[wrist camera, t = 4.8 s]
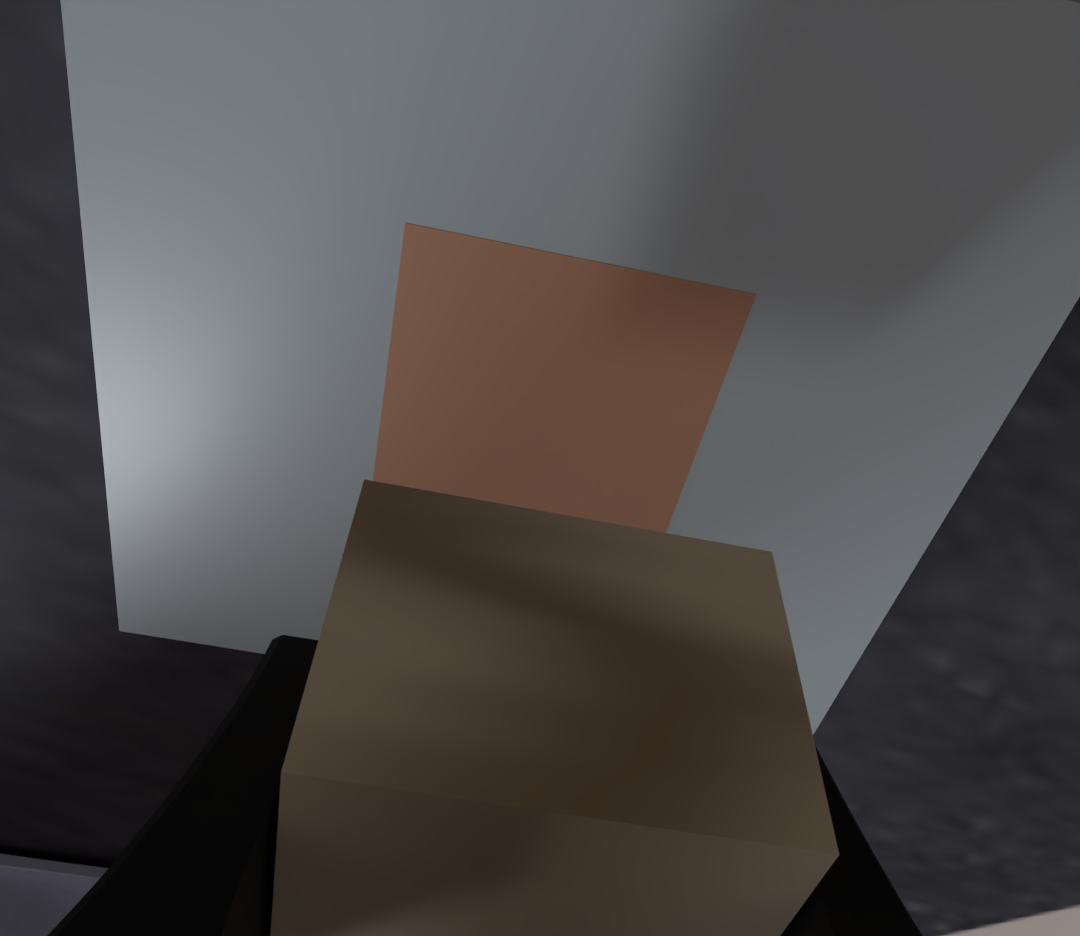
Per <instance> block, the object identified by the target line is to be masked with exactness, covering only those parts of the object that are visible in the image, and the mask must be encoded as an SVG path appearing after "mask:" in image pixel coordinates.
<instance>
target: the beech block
mask: <svg viewBox="0 0 1080 936" xmlns="http://www.w3.org/2000/svg"><path fill="white" fill-rule="evenodd" d="M838 856H839V851H838V847H837V842H836V838H835V833H834V829H833V824H832V820H831V815H830V811H829V806H828V802H827V797H826V793H825V788H824V784H823V779H822V775H821V770H820V766H819V761H818V756H817V752H816V747H815V743H814V738H813V734H812V729H811V725H810V720H809V716H808V711H807V707H806V702H805V698H804V693H803V689H802V684H801V680H800V675H799V671H798V666H797V662H796V657H795V653H794V648H793V644H792V639H791V635H790V630H789V626H788V621H787V617H786V612H785V608H784V603H783V599H782V594H781V590H780V585H779V581H778V576H777V572H776V567H775V563H774V558H773V554H772V552H771V551H765V550H759V549H754V548H748V547H742V546H737V545H731V544H726V543H720V542H714V541H709V540H703V539H697V538H692V537H686V536H680V535H675V534H669V533H664V532H658V531H652V530H647V529H641V528H635V527H630V526H624V525H619V524H613V523H607V522H602V521H596V520H590V519H585V518H579V517H573V516H568V515H562V514H557V513H551V512H545V511H540V510H534V509H528V508H523V507H517V506H512V505H506V504H500V503H495V502H489V501H483V500H478V499H472V498H466V497H461V496H455V495H450V494H444V493H438V492H433V491H427V490H421V489H416V488H410V487H405V486H399V485H393V484H388V483H382V482H376V481H371V480H365V479H364V482H363V485H362V489H361V492H360V496H359V499H358V503H357V507H356V510H355V514H354V517H353V521H352V524H351V528H350V531H349V535H348V538H347V542H346V545H345V549H344V552H343V556H342V559H341V563H340V566H339V570H338V573H337V577H336V580H335V584H334V588H333V591H332V595H331V598H330V602H329V605H328V609H327V612H326V616H325V619H324V623H323V626H322V630H321V633H320V637H319V640H318V644H317V647H316V651H315V654H314V658H313V661H312V665H311V668H310V672H309V676H308V679H307V683H306V686H305V690H304V693H303V697H302V700H301V704H300V707H299V711H298V714H297V718H296V721H295V725H294V728H293V732H292V735H291V739H290V742H289V746H288V749H287V753H286V757H285V760H284V764H283V767H282V771H281V781H280V796H279V812H278V827H277V842H276V858H275V873H274V888H273V904H272V919H271V934H270V936H781V934H782V933H783V932H784V930H785V929H786V927H787V926H788V925H789V923H790V922H791V921H792V919H793V918H794V916H795V915H796V914H797V912H798V911H799V910H800V908H801V907H802V905H803V904H804V903H805V901H806V900H807V899H808V897H809V896H810V894H811V893H812V892H813V890H814V889H815V887H816V886H817V885H818V883H819V882H820V881H821V879H822V878H823V876H824V875H825V874H826V872H827V871H828V870H829V868H830V867H831V865H832V864H833V863H834V861H835V860H836V859H837V857H838Z"/></svg>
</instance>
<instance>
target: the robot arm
mask: <svg viewBox="0 0 1080 936" xmlns="http://www.w3.org/2000/svg"><path fill="white" fill-rule="evenodd" d="M317 644H318V640H313V639H306V638H300V637H294V636H288V635H281V636H279V637H276V638H274V639H272V641H271V643H270V645H269V647H268V649H267V651H266V653H265V654H264V656H263V658H262V660H261V662H260V664H259V665H258V667H257V669H256V670H255V672H254V674H253V676H252V677H251V679H250V681H249V682H248V684H247V685H246V687H245V689H244V690H243V692H242V693H241V695H240V697H239V698H238V700H237V701H236V703H235V704H234V706H233V707H232V709H231V710H230V712H229V713H228V715H227V716H226V718H225V719H224V721H223V722H222V724H221V725H220V726H219V728H218V729H217V731H216V732H215V734H214V735H213V737H212V738H211V739H210V741H209V742H208V743H207V745H206V746H205V748H204V749H203V750H202V752H201V753H200V754H199V756H198V757H197V758H196V760H195V761H194V762H193V764H192V765H191V766H190V768H189V769H188V771H187V772H186V773H185V775H184V776H183V777H182V779H181V780H180V781H179V783H178V784H177V785H176V787H175V788H174V789H173V791H172V792H171V793H170V795H169V796H168V797H167V798H166V800H165V801H164V802H163V803H162V805H161V806H160V807H159V808H158V809H157V811H156V812H155V813H154V814H153V816H152V817H151V818H150V819H149V820H148V822H147V823H146V824H145V825H144V826H143V828H142V829H141V830H140V831H139V832H138V834H137V835H136V836H135V837H134V839H133V840H132V841H131V842H130V843H129V845H128V846H127V847H126V848H125V849H124V851H123V852H122V853H121V854H120V855H119V857H118V858H117V859H116V860H115V861H114V863H113V864H112V865H111V866H110V867H109V868H105V867H97V866H90V865H83V864H75V863H68V862H61V861H53V860H46V859H39V858H31V857H24V856H16V855H9V854H2V853H0V936H270V934H271V919H272V904H273V888H274V873H275V858H276V842H277V827H278V812H279V796H280V781H281V771H282V767H283V764H284V760H285V757H286V753H287V749H288V746H289V742H290V739H291V735H292V732H293V728H294V725H295V721H296V718H297V714H298V711H299V707H300V704H301V700H302V697H303V693H304V690H305V686H306V683H307V679H308V676H309V672H310V668H311V665H312V661H313V658H314V654H315V651H316V647H317ZM815 747H816V746H815ZM816 752H817V756H818V761H819V766H820V770H821V775H822V779H823V784H824V788H825V793H826V797H827V802H828V806H829V811H830V815H831V820H832V824H833V829H834V833H835V838H836V842H837V847H838V851H839V856H838V857H837V859H836V860H835V861H834V863H833V864H832V865H831V867H830V868H829V870H828V871H827V872H826V874H825V875H824V876H823V878H822V879H821V881H820V882H819V883H818V885H817V886H816V887H815V889H814V890H813V892H812V893H811V894H810V896H809V897H808V899H807V900H806V901H805V903H804V904H803V905H802V907H801V908H800V910H799V911H798V912H797V914H796V915H795V916H794V918H793V919H792V921H791V922H790V923H789V925H788V926H787V927H786V929H785V930H784V932H783V933H782V934H781V936H922V934H921V933H920V931H919V929H918V928H917V926H916V924H915V923H914V921H913V920H912V918H911V916H910V915H909V913H908V911H907V910H906V908H905V906H904V905H903V903H902V901H901V900H900V898H899V896H898V894H897V893H896V891H895V889H894V888H893V886H892V884H891V882H890V881H889V879H888V877H887V876H886V874H885V872H884V870H883V869H882V867H881V865H880V864H879V862H878V860H877V858H876V857H875V855H874V853H873V851H872V850H871V848H870V846H869V844H868V842H867V841H866V839H865V837H864V835H863V834H862V832H861V830H860V828H859V826H858V824H857V823H856V821H855V819H854V817H853V815H852V813H851V812H850V810H849V808H848V806H847V804H846V802H845V801H844V799H843V797H842V795H841V793H840V791H839V789H838V787H837V786H836V784H835V782H834V780H833V778H832V776H831V774H830V772H829V770H828V769H827V767H826V765H825V763H824V761H823V759H822V757H821V755H820V753H819V751H818V749H817V748H816Z"/></svg>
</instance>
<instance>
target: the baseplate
mask: <svg viewBox="0 0 1080 936" xmlns="http://www.w3.org/2000/svg"><path fill="white" fill-rule="evenodd" d="M61 9H62V19H63V30H64V41H65V52H66V63H67V73H68V84H69V95H70V106H71V116H72V127H73V138H74V149H75V160H76V170H77V181H78V192H79V203H80V214H81V224H82V235H83V246H84V257H85V267H86V278H87V289H88V300H89V311H90V321H91V332H92V343H93V354H94V365H95V375H96V386H97V397H98V408H99V418H100V429H101V440H102V451H103V462H104V472H105V483H106V494H107V505H108V516H109V526H110V537H111V548H112V559H113V569H114V580H115V591H116V602H117V613H118V623H119V631H123V632H129V633H135V634H142V635H148V636H154V637H161V638H167V639H173V640H180V641H186V642H192V643H198V644H205V645H211V646H217V647H224V648H230V649H236V650H243V651H249V652H255V653H262V654H265V653H266V651H267V649H268V647H269V645H270V643H271V641H272V639H274V638H276V637H279V636H281V635H288V636H294V637H300V638H306V639H313V640H319V637H320V633H321V630H322V626H323V623H324V619H325V616H326V612H327V609H328V605H329V602H330V598H331V595H332V591H333V588H334V584H335V580H336V577H337V573H338V570H339V566H340V563H341V559H342V556H343V552H344V549H345V545H346V542H347V538H348V535H349V531H350V528H351V524H352V521H353V517H354V514H355V510H356V507H357V503H358V499H359V496H360V492H361V489H362V485H363V482H364V479H365V480H371V481H376V482H382V483H388V484H393V485H399V486H405V487H410V488H416V489H421V490H427V491H433V492H438V493H444V494H450V495H455V496H461V497H466V498H472V499H478V500H483V501H489V502H495V503H500V504H506V505H512V506H517V507H523V508H528V509H534V510H540V511H545V512H551V513H557V514H562V515H568V516H573V517H579V518H585V519H590V520H596V521H602V522H607V523H613V524H619V525H624V526H630V527H635V528H641V529H647V530H652V531H658V532H664V533H669V534H675V535H680V536H686V537H692V538H697V539H703V540H709V541H714V542H720V543H726V544H731V545H737V546H742V547H748V548H754V549H759V550H765V551H771V552H772V554H773V558H774V563H775V567H776V572H777V576H778V581H779V585H780V590H781V594H782V599H783V603H784V608H785V612H786V617H787V621H788V626H789V630H790V635H791V639H792V644H793V648H794V653H795V657H796V662H797V666H798V671H799V675H800V680H801V684H802V689H803V693H804V698H805V702H806V707H807V711H808V716H809V720H810V725H811V729H812V734H814V732H815V731H816V729H817V727H818V726H819V724H820V723H821V721H822V719H823V718H824V716H825V714H826V713H827V711H828V709H829V708H830V706H831V704H832V703H833V701H834V700H835V698H836V696H837V695H838V693H839V691H840V690H841V688H842V686H843V685H844V683H845V681H846V680H847V678H848V677H849V675H850V673H851V672H852V670H853V668H854V667H855V665H856V663H857V662H858V660H859V658H860V657H861V655H862V654H863V652H864V650H865V649H866V647H867V645H868V644H869V642H870V640H871V639H872V637H873V635H874V634H875V632H876V631H877V629H878V627H879V626H880V624H881V622H882V621H883V619H884V617H885V616H886V614H887V612H888V611H889V609H890V607H891V606H892V604H893V603H894V601H895V599H896V598H897V596H898V594H899V593H900V591H901V589H902V588H903V586H904V584H905V583H906V581H907V580H908V578H909V576H910V575H911V573H912V571H913V570H914V568H915V566H916V565H917V563H918V561H919V560H920V558H921V557H922V555H923V553H924V552H925V550H926V548H927V547H928V545H929V543H930V542H931V540H932V538H933V537H934V535H935V534H936V532H937V530H938V529H939V527H940V525H941V524H942V522H943V520H944V519H945V517H946V515H947V514H948V512H949V511H950V509H951V507H952V506H953V504H954V502H955V501H956V499H957V497H958V496H959V494H960V492H961V491H962V489H963V488H964V486H965V484H966V483H967V481H968V479H969V478H970V476H971V474H972V473H973V471H974V469H975V468H976V466H977V465H978V463H979V461H980V460H981V458H982V456H983V455H984V453H985V451H986V450H987V448H988V446H989V445H990V443H991V441H992V440H993V438H994V437H995V435H996V433H997V432H998V430H999V428H1000V427H1001V425H1002V423H1003V422H1004V420H1005V418H1006V417H1007V415H1008V414H1009V412H1010V410H1011V409H1012V407H1013V405H1014V404H1015V402H1016V400H1017V399H1018V397H1019V395H1020V394H1021V392H1022V391H1023V389H1024V387H1025V386H1026V384H1027V382H1028V381H1029V379H1030V377H1031V376H1032V374H1033V372H1034V371H1035V369H1036V368H1037V366H1038V364H1039V363H1040V361H1041V359H1042V358H1043V356H1044V354H1045V353H1046V351H1047V349H1048V348H1049V346H1050V345H1051V343H1052V341H1053V340H1054V338H1055V336H1056V335H1057V333H1058V331H1059V330H1060V328H1061V326H1062V325H1063V323H1064V322H1065V320H1066V318H1067V317H1068V315H1069V313H1070V312H1071V310H1072V308H1073V307H1074V305H1075V303H1076V302H1077V300H1078V299H1079V297H1080V0H61Z"/></svg>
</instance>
